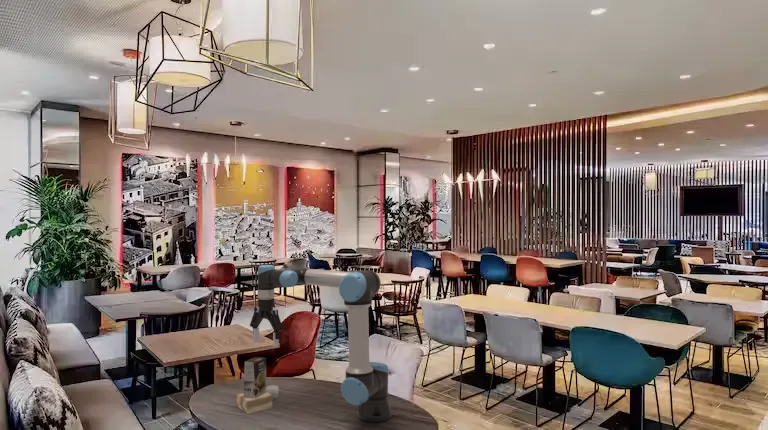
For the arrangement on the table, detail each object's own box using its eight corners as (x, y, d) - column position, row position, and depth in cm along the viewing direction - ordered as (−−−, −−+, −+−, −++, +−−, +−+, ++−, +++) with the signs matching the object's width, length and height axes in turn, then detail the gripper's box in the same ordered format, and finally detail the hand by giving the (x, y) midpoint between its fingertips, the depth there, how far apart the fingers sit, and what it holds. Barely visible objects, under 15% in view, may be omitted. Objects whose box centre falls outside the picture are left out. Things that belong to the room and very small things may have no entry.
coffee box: (255, 398, 219) (255, 362, 219) (243, 396, 221) (243, 361, 221) (266, 392, 228) (267, 357, 228) (254, 390, 230) (255, 356, 230)
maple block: (272, 408, 223) (272, 395, 224) (247, 414, 216) (247, 401, 216) (260, 401, 233) (260, 388, 233) (236, 406, 225) (236, 393, 225)
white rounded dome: (280, 397, 237) (281, 386, 237) (271, 400, 232) (271, 390, 232) (272, 394, 241) (272, 384, 241) (263, 397, 236) (263, 387, 236)
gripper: (290, 299, 222) (290, 346, 222) (254, 295, 237) (254, 339, 236) (278, 301, 216) (278, 349, 216) (242, 297, 231) (242, 342, 230)
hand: (266, 344), depth 226 cm, fingers open, 13 cm apart
